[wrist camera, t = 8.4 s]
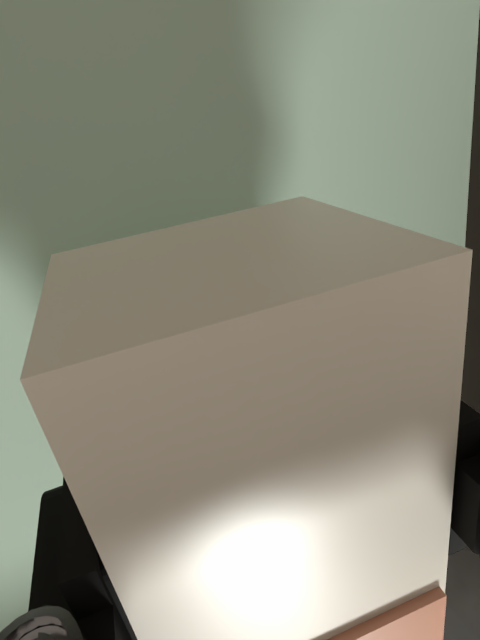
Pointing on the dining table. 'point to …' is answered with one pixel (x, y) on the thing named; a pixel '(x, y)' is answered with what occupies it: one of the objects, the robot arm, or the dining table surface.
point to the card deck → (260, 420)
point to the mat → (207, 150)
